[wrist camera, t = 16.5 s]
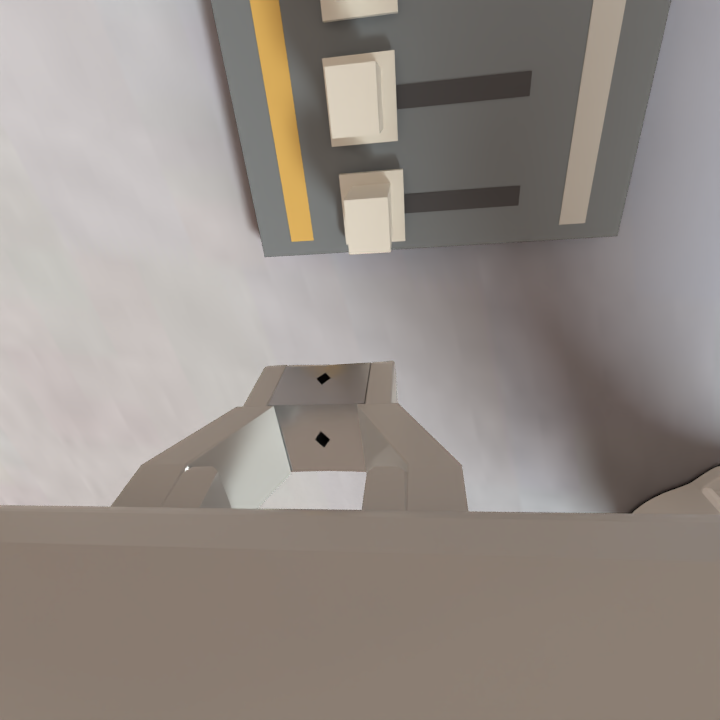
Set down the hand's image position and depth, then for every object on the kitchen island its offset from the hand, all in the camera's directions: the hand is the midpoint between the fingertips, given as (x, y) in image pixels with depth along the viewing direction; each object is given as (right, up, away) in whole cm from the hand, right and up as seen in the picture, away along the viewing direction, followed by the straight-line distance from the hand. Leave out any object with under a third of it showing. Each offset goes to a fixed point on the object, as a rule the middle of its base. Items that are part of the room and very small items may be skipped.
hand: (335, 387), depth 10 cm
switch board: (+5, +17, +16) cm, 24 cm away
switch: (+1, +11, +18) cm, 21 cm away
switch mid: (+1, +16, +15) cm, 22 cm away
